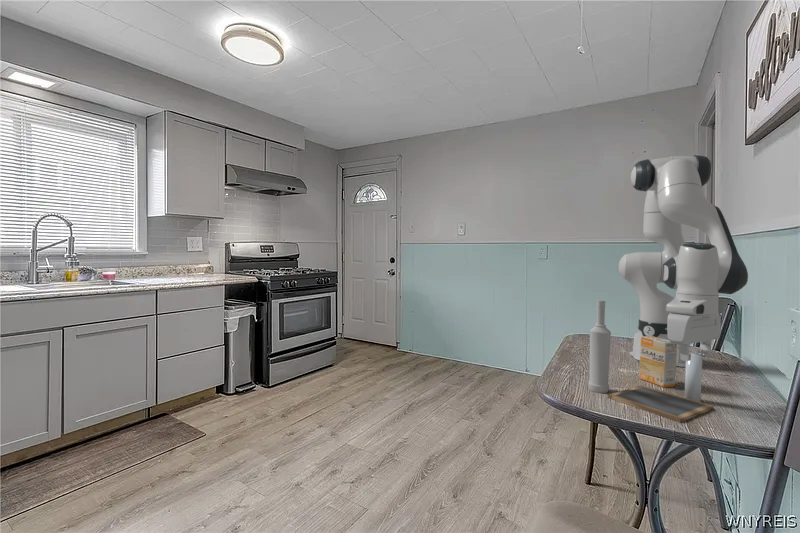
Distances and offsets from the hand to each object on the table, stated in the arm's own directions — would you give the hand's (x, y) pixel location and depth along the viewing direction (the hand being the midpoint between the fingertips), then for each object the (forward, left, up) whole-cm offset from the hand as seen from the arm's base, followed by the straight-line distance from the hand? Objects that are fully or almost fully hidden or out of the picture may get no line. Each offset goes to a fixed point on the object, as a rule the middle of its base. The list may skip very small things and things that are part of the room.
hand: (694, 358), depth 100 cm
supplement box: (-7, -12, -11) cm, 18 cm away
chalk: (0, 0, -11) cm, 11 cm away
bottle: (+15, -17, -11) cm, 25 cm away
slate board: (+10, -3, -11) cm, 15 cm away
